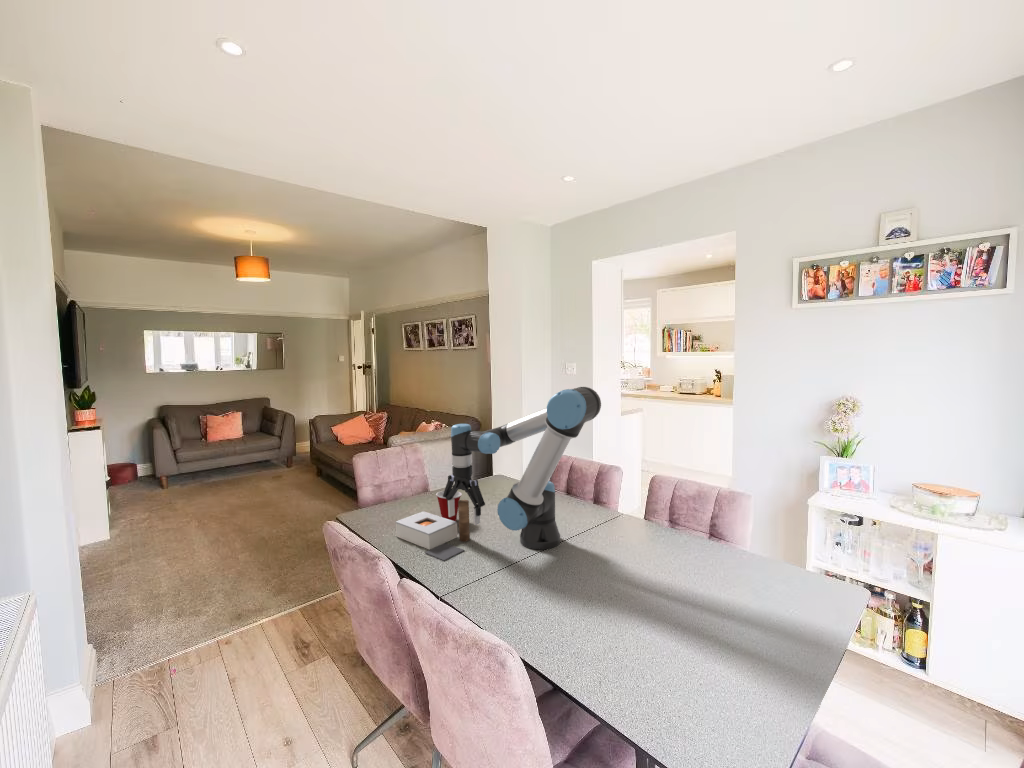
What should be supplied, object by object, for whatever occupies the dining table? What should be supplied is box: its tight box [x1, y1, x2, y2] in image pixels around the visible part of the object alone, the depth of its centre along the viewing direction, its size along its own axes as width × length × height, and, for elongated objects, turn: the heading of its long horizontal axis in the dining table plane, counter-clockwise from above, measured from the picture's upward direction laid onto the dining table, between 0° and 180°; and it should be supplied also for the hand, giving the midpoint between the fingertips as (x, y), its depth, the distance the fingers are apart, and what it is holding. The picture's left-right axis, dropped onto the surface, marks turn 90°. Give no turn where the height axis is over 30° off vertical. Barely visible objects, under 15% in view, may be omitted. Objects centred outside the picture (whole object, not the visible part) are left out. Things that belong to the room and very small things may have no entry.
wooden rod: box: [457, 499, 471, 543], centre depth 179 cm, size 4×4×15 cm
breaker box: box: [394, 510, 458, 551], centre depth 182 cm, size 20×14×6 cm
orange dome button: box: [420, 522, 432, 526], centre depth 182 cm, size 5×5×2 cm
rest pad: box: [424, 542, 466, 562], centre depth 169 cm, size 10×10×1 cm
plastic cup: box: [435, 490, 463, 522], centre depth 198 cm, size 11×11×12 cm
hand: (464, 519), depth 179 cm, fingers open, 13 cm apart
